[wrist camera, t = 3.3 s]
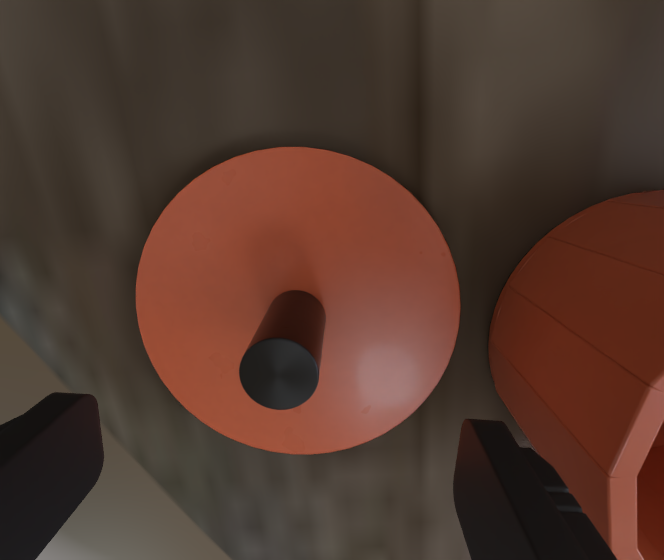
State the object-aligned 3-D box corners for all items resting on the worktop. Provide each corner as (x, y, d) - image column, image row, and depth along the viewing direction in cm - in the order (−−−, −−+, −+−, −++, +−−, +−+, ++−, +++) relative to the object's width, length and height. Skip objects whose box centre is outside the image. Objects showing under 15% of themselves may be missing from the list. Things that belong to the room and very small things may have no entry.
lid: (197, 458, 20) (139, 574, 14) (103, 186, 16) (-23, 196, 11) (470, 415, 19) (525, 522, 13) (431, 114, 15) (482, 82, 10)
